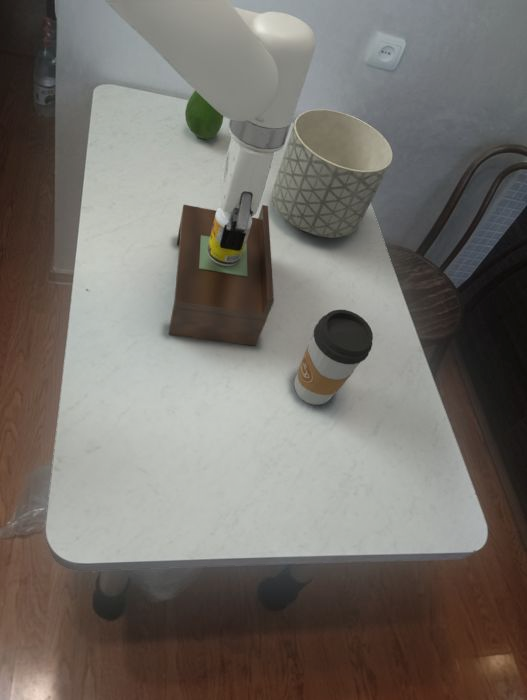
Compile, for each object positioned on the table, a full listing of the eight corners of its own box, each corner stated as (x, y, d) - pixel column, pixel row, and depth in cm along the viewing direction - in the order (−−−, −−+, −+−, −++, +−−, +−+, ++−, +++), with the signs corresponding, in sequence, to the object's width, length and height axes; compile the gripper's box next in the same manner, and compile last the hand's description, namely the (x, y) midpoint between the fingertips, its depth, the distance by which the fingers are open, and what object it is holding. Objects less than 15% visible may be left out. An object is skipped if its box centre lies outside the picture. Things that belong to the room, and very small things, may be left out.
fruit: (191, 147, 115) (200, 93, 106) (176, 125, 119) (184, 72, 110) (224, 145, 119) (236, 93, 110) (209, 124, 122) (219, 72, 113)
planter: (320, 181, 120) (351, 105, 106) (372, 238, 112) (412, 164, 99) (250, 194, 111) (274, 112, 97) (301, 257, 103) (335, 178, 89)
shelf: (168, 334, 84) (177, 286, 75) (177, 239, 97) (186, 189, 89) (255, 346, 87) (274, 301, 78) (252, 252, 100) (268, 205, 92)
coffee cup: (280, 369, 85) (310, 308, 74) (326, 364, 88) (362, 304, 77) (297, 415, 81) (332, 357, 69) (345, 408, 84) (386, 351, 73)
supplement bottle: (216, 238, 88) (229, 186, 80) (246, 253, 87) (262, 203, 79) (200, 256, 84) (212, 204, 76) (231, 273, 84) (246, 222, 76)
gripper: (230, 84, 73) (207, 192, 86) (230, 158, 62) (203, 268, 76) (283, 96, 74) (252, 201, 88) (292, 171, 64) (255, 276, 78)
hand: (230, 231), depth 82 cm, fingers open, 6 cm apart
